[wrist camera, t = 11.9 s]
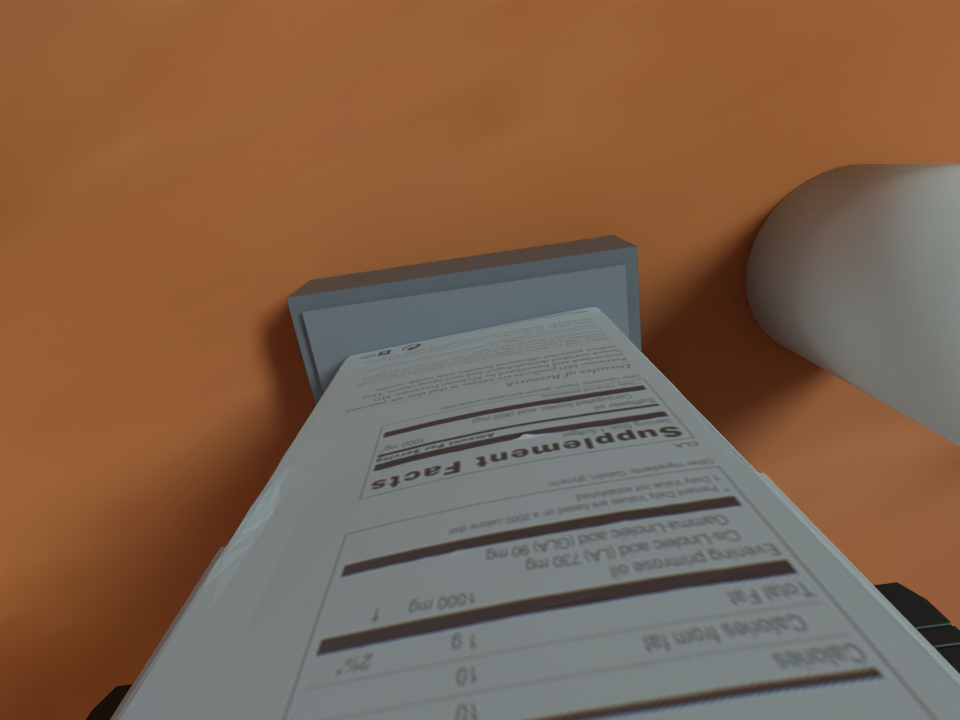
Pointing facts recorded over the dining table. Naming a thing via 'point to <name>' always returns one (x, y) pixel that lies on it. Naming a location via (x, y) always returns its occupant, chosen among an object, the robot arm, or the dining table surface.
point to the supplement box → (529, 559)
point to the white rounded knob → (869, 283)
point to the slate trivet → (461, 299)
